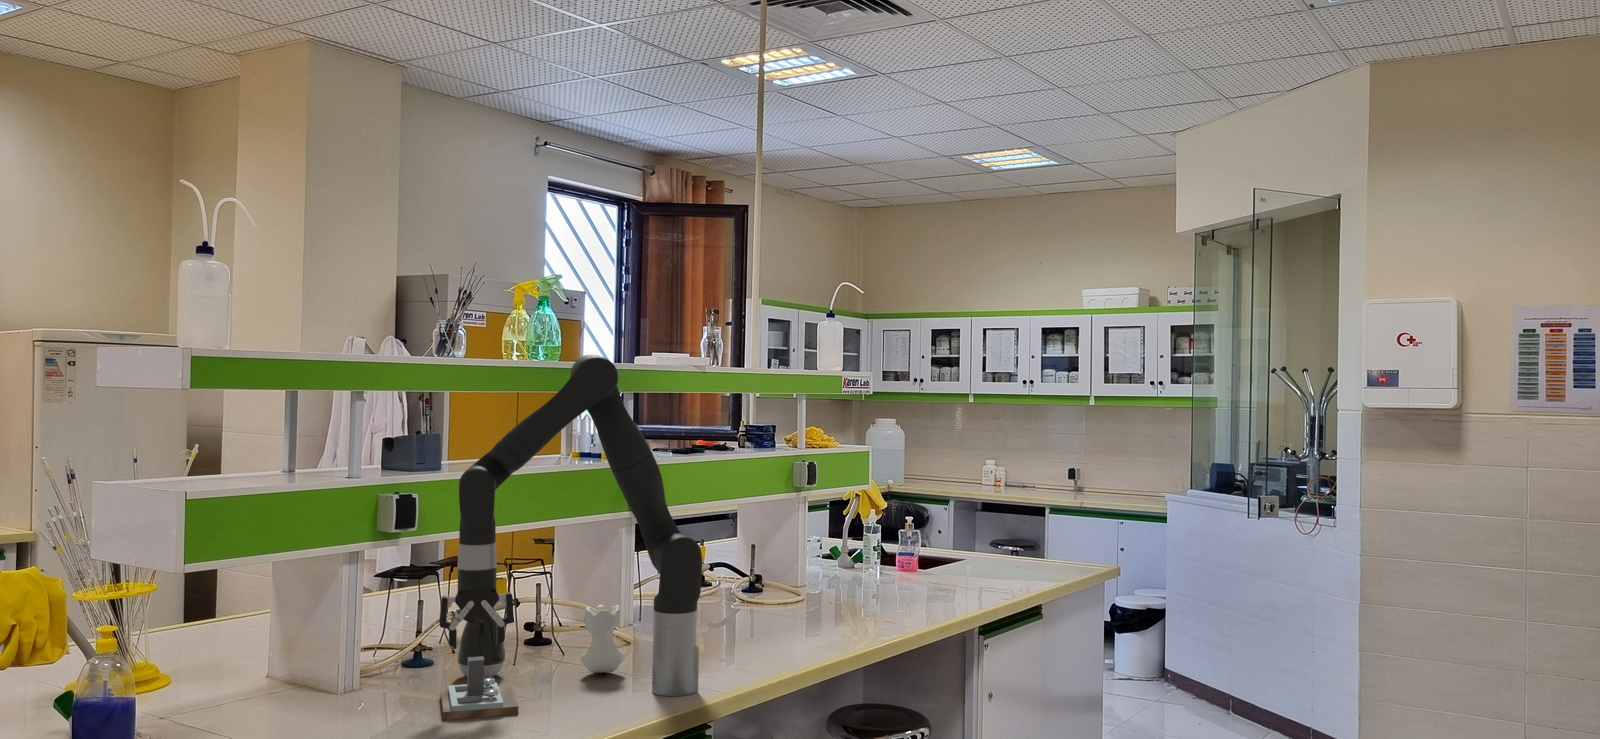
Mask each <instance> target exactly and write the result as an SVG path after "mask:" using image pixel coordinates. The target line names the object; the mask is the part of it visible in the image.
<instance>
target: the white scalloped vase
mask: <svg viewBox="0 0 1600 739" xmlns="http://www.w3.org/2000/svg"><path fill="white" fill-rule="evenodd" d="M621 614H622V610H621V607H620V606H619V605H618V604H616V605H611V606H610V610H608V609H606V606H605V605H602V604H598V605H597V607H596V612H594V611H593V607H591V606H586V607H585V608H584V611H583V614H582V615H583V616H582V617H583V624H584V628H585V629H587V632H588V633H589V635H590V636H591V642H590V643H591V644H590V645H589V648H588V649H587V650H586V651H585V652H584V653H583V654H581V656H580V661H581V662H580V663H581V664H582V665H583V666H584V667H585V668H586V669H587V670H588V671H589V672H590V673H593V674H595V673H596V674H597V673H600V674H601V673H602V674H603V673H613V672H615V671H616V670H617V669H618V667H620V665H621V664H622V663H623V661H624V660H625V654H624V653H623V652H622V651H621V650H620V649H619V648H617V646H616V644H615V641H614V638H613V637H614V632H615V630H616V627H618V626H619V624H620V622H621V621H620V620H621Z"/></svg>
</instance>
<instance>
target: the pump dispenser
mask: <svg viewBox="0 0 1600 739" xmlns="http://www.w3.org/2000/svg"><path fill="white" fill-rule="evenodd" d="M462 621H465V622H466V623H465V625H464V628H463V630H462V633H461V636H460V641H459V646H458V651H457V658H456V659H457V660H456V661H457V664H458V665H459V666H458V667H459V669H460V672H461V673H462V675H464V676H465V677H466V678H467V667H468V657H481V656H483V657H484V678H494V677H495V676H496V675H498V674H499V673H500V671H501V670H502V668H503V665H504V661H505V660H506V648H505V647H506V646H505V641H504V642H502V643H501V646H497V626H498V624H497V623H496V622H495V620H494V619H493V618H492V617H491V616H490V615H489V614H488V615H486V616H485V617H480V616H475V617H467V616H465V617H464V618H463V620H462Z"/></svg>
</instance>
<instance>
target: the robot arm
mask: <svg viewBox="0 0 1600 739" xmlns="http://www.w3.org/2000/svg"><path fill="white" fill-rule="evenodd" d="M569 373H570V375H569V379H568V380H567V381H566V383H565V384H564V385H563V386H562V387H561V388H560V390H558V392H557V393H556V394H554V396H552V397H551V398H550V399H549V400H547V402H546V403H544V404H543V405H541V406H540V407H539V408H537V409H536V410H535V411H533V412H532V413H531V414H528V416H526V417H525V418H524V419H522V420H521V421H520V422H519V423H517V424H516V425H515V426H514V427H512V428H511V429H510V431H508V432H507V433H506V434H505V435H504V436H502V438H500V440H499V441H497V442H496V444H495V445H494V446H492V448H491V449H490V450H489V451H488V452H486V453H485V454H484V455H483V456H482V457H480V458H479V459H478V460H477V461H476V462H474V463H473V464H472V465H470V466H469V467H468V468H467V469H466V470H465V471H464V472H463V474H461V477H460V479H459V482H458V500H459V501H458V502H459V514H460V519H459V526H458V527H459V531H458V532H459V539H458V540H459V542H458V544H459V545H458V552H457V565H456V566H457V592H456V595H455V596H447V595H442V596H441V598H440V607H439V608H440V610H439V622H438V623H439V627H440V628H441V629H446V630H448V645H449V647H452V650H457V649H458V648H457V646H458V645H457V642H458V641H457V639H458V638H457V634H458V633H457V632H458V631H457V626H458V625H459V624H460V623H461V622H462V621H464V620H463V618H464V617H465V616H467V617H475V616H480V617H485V616H486V615H488V614H489V615H490V616H491V617H492V618H493V619H494V620H495V622H496V623H497V624H498V626H497V646H501V643H502V642H504V643H505V627H506V626H507V625H509V624H513V623H514V621H515V617H514V614H515V613H514V598H513V594H512V593H511V591H506V592H505V593H499V594H498V592H497V564H498V559H497V558H498V557H497V546H496V545H497V544H496V529H497V528H496V518H495V500H496V499H495V497H496V496H495V495H496V490H497V489H498V488H499V487H500V486H501V485H502V484H503V483H505V481H506V480H507V479H508V478H509V477H510V476H512V474H513V473H515V472H517V471H519V470H520V469H522V467H524V466H525V465H526V464H527V463H528V462H529V461H530V460H531V459H532V458H534V457H535V455H537V454H538V453H539V452H540V451H541V450H542V449H543V448H544V447H545V446H546V445H547V444H548V443H549V442H550V441H552V439H554V437H556V436H557V435H558V434H559V433H560V432H561V431H562V430H563V429H564V428H566V426H567V425H569V424H570V423H571V422H573V421H574V420H575V419H576V418H578V417H579V416H580V415H581V414H583V413H584V412H586V411H587V412H588V414H589V415H590V416H589V417H590V418H591V420H592V423H593V424H594V426H595V429H596V431H597V435H598V437H599V438H598V439H599V441H600V444H601V447H602V450H603V452H604V455H605V458H606V460H607V464H608V466H609V468H610V470H611V473H612V474H613V477H614V479H615V481H616V482H617V485H618V487H619V489H620V491H621V493H622V495H623V497H624V500H625V502H626V503H627V505H628V507H629V508H630V511H631V513H632V515H633V516H634V519H635V520H636V522H637V525H638V527H639V530H640V533H641V536H642V538H643V541H644V544H645V547H646V548H645V549H646V551H647V553H648V557H649V559H650V561H651V564H652V565H653V567H654V569H655V570H656V571H657V572H659V574H660V576H659V590H658V593H657V594H656V595H655V596H654V598H653V621H652V622H653V625H652V628H653V629H652V630H653V632H652V636H653V637H652V666H651V668H652V672H651V674H652V675H651V676H652V678H651V692H652V693H653V694H655V695H658V696H663V697H664V696H666V697H679V696H681V697H682V696H687V695H690V694H691V695H692V694H695V693H696V694H697V693H699V672H700V670H699V668H700V666H699V665H700V662H699V661H700V647H699V646H698V645H697V636H698V634H697V628H698V626H697V624H698V623H697V622H698V621H697V620H698V602H699V599H700V596H701V592H702V591H701V590H702V576H703V575H702V574H703V572H702V571H703V554H702V550H701V547H700V545H699V544H698V542H697V541H696V540H695V539H693V538H691V537H689V536H687V535H685V534H682V532H681V531H680V530H679V528H678V526H677V524H676V522H675V521H674V519H673V517H672V515H671V513H670V511H669V508H668V505H667V502H666V501H667V500H666V496H665V494H666V493H665V487H664V483H663V482H664V480H663V477H662V474H661V470H660V468H659V465H658V462H657V461H656V458H655V456H654V454H653V452H652V450H651V449H652V448H650V446H649V444H648V442H647V440H646V439H645V437H644V435H643V434H642V432H641V431H640V428H639V427H638V426H637V424H636V423H635V421H634V420H633V419H632V417H631V415H630V413H629V412H628V410H627V409H626V405H625V403H624V401H623V398H622V396H621V393H620V391H619V388H618V382H619V373H618V369H617V367H616V366H615V364H614V363H613V362H612V361H611V360H610V359H608V358H606V357H604V356H601V355H599V354H598V355H597V354H586V355H583V356H580V357H579V358H578V359H576V360H575V362H574V363H573V365H572V367H571V369H570V372H569ZM499 600H500V601H501V603H502V604H503V605H505V610H506V611H505V612H506V616H505V617H503V618H502V617H501V616H500V614H499V613H498V612H497V610H496V609H495V608H494V607H495V606H496V605H497V603H498V602H499ZM453 603H455V604H456V606H457V607H458V608H459V609H458V610H457V612H456V614H455V615H454V617H453V618H452V619H451V620H450V621H448V620H447V617H448V616H447V615H448V609H450V608H451V607H452V604H453Z"/></svg>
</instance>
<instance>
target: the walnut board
mask: <svg viewBox="0 0 1600 739" xmlns="http://www.w3.org/2000/svg"><path fill="white" fill-rule="evenodd" d="M495 682H496V678H494V677H491V678H484V685H485V688H490V685H491V684H494V683H495ZM498 688H499V691H500V694H501V697H502V700H503V708H491V709H478V710H465V711H452V710H451V704H450V698H449V692H448V690H441V691H440V695H439V696H440V706H441V711H442V719H443V721H446V720H447V721H449V720H461V719H470V718H471V719H473V718H485V717H486V718H487V717H499V716H500V717H501V716H510V715H519V707H520V706H519V704H518V701H517V698H516V696H515V693H514V691H513V688H512V686H511V685H507V686H498ZM456 692H467V691H456ZM496 695H498V689H485V690H484V696H488V700H493V698H494V696H496ZM480 702H481V701H479V702H465V703H458V704H467V703H480Z"/></svg>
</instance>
